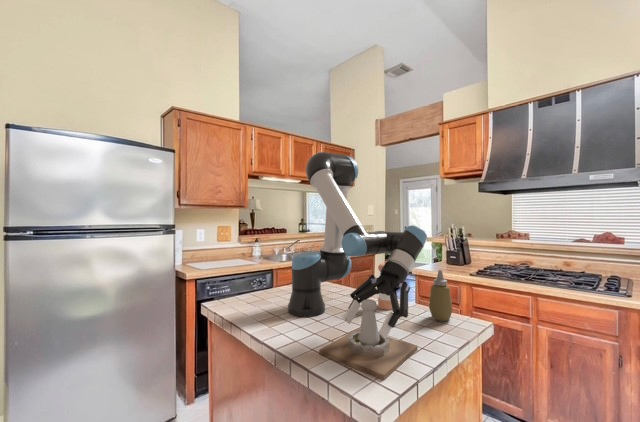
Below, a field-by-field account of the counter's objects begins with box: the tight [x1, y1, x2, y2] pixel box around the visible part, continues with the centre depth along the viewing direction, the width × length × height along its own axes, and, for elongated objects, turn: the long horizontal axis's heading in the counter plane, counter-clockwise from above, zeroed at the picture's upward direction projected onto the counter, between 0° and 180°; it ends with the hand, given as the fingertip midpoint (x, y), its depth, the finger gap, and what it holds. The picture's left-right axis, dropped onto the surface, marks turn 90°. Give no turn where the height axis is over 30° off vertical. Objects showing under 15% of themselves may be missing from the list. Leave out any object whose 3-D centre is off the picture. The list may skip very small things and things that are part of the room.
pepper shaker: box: [377, 260, 393, 311], centre depth 122 cm, size 7×7×19 cm
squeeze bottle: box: [428, 269, 453, 322], centre depth 108 cm, size 8×8×18 cm
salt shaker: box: [359, 298, 380, 346], centre depth 82 cm, size 6×6×13 cm
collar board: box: [318, 327, 418, 381], centre depth 81 cm, size 20×20×4 cm
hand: (362, 328), depth 80 cm, fingers open, 13 cm apart
